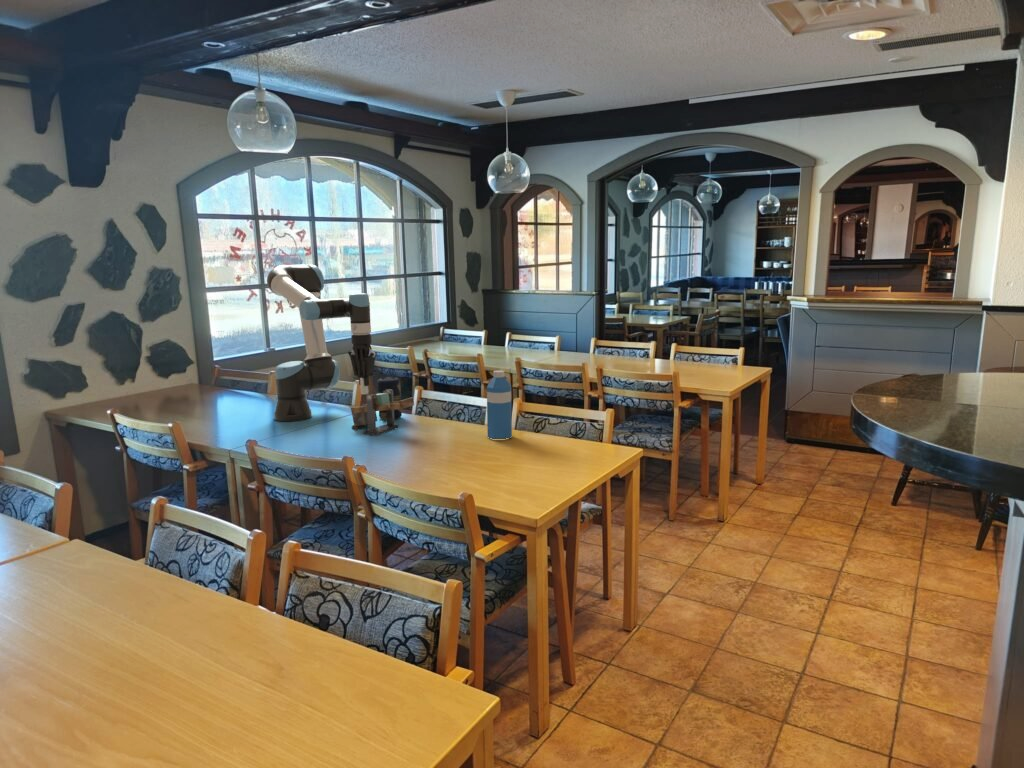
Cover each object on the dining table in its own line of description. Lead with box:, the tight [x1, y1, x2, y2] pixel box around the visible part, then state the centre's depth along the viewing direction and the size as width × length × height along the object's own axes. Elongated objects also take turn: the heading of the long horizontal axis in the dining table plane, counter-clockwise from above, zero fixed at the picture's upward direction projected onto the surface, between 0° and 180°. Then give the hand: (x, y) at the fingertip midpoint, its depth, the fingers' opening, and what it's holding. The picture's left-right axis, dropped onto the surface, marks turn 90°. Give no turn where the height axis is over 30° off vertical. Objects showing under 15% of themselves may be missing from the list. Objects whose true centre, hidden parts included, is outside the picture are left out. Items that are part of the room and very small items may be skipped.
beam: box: [350, 391, 415, 426], centre depth 263 cm, size 26×9×12 cm, turn 60°
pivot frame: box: [363, 389, 400, 436], centre depth 263 cm, size 6×14×15 cm, turn 150°
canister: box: [376, 375, 403, 421], centre depth 282 cm, size 10×10×18 cm
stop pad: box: [351, 424, 368, 431], centre depth 270 cm, size 3×7×1 cm, turn 150°
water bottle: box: [486, 369, 513, 439], centre depth 251 cm, size 9×9×25 cm
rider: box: [375, 393, 390, 405], centre depth 263 cm, size 6×4×5 cm, turn 60°
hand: (364, 393), depth 266 cm, fingers closed
